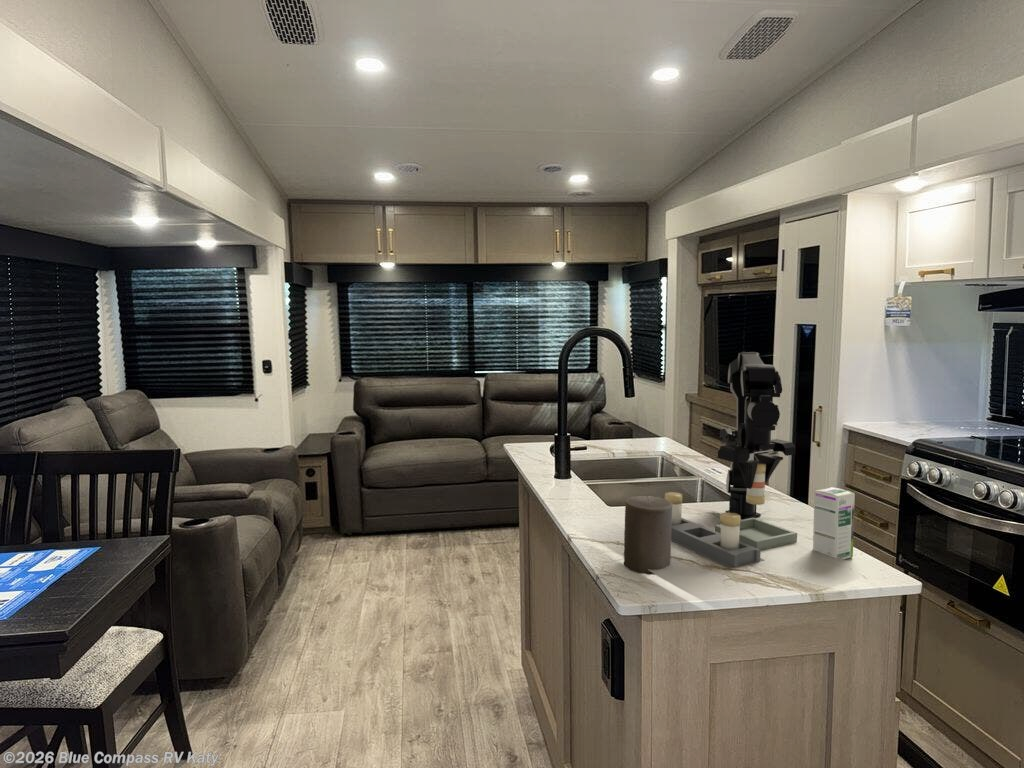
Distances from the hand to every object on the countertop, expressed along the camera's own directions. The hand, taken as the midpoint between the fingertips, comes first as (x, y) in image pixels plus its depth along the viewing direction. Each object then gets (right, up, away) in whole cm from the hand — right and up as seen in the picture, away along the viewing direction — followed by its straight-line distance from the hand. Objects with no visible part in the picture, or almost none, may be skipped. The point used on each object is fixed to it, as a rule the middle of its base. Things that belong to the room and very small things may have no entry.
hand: (755, 487), depth 144 cm
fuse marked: (0, -4, 0) cm, 4 cm away
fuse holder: (-14, -13, -2) cm, 19 cm away
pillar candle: (-28, -15, -12) cm, 34 cm away
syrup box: (+14, -14, -8) cm, 21 cm away
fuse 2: (-10, -13, -10) cm, 19 cm away
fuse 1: (-18, -12, +6) cm, 22 cm away
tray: (0, -13, +1) cm, 13 cm away
